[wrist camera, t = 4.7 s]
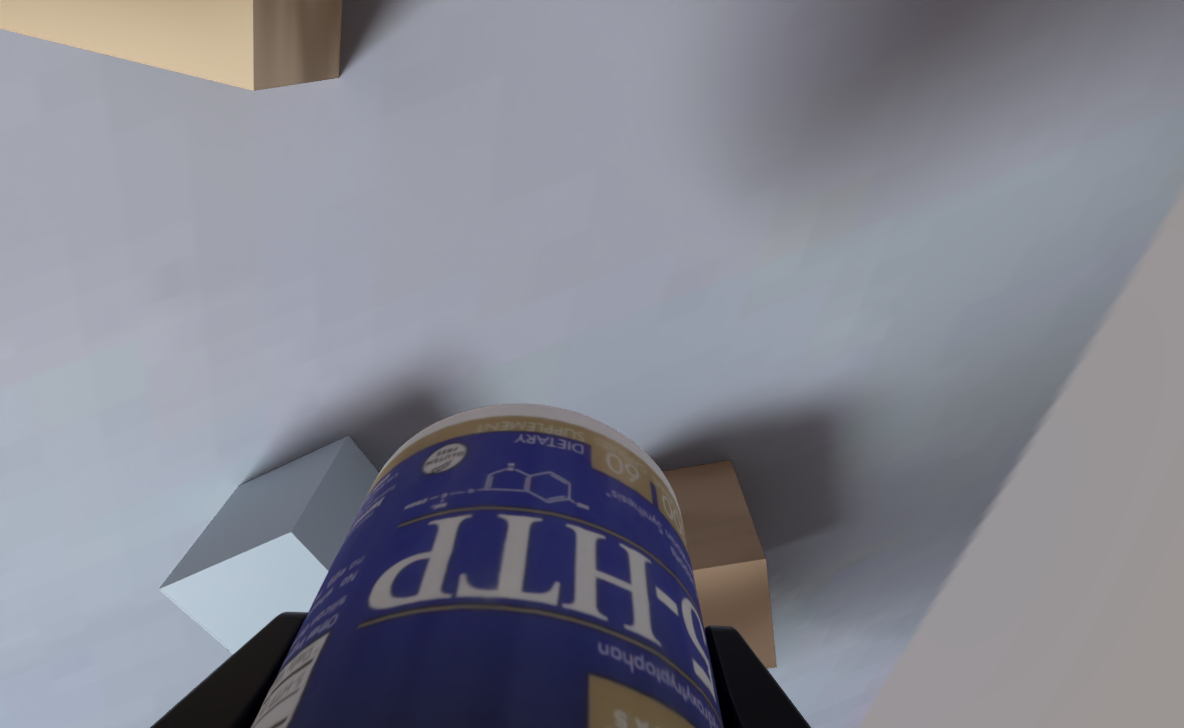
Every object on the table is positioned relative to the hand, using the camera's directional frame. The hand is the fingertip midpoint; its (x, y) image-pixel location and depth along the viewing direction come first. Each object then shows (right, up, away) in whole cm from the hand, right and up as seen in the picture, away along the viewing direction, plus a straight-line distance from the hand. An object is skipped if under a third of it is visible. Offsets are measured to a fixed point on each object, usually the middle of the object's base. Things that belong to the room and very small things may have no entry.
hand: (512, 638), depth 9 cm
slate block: (-9, -2, +15) cm, 18 cm away
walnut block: (+4, -2, +16) cm, 16 cm away
